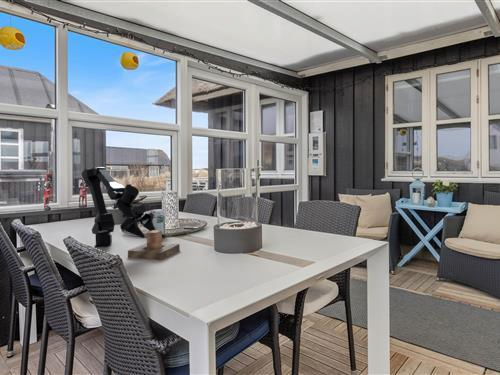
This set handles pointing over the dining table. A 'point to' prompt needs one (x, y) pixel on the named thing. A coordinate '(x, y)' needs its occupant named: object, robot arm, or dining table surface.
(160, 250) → the walnut hole board
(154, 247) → the terracotta peg
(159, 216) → the syrup box
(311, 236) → the dining table surface
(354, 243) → the dining table surface
